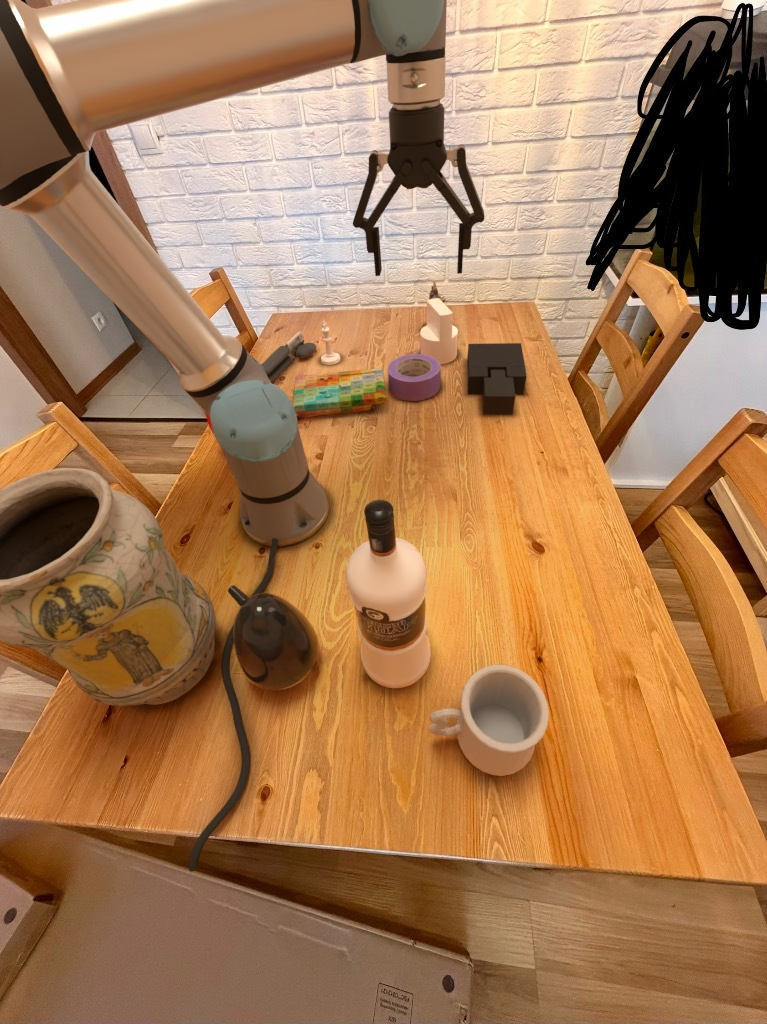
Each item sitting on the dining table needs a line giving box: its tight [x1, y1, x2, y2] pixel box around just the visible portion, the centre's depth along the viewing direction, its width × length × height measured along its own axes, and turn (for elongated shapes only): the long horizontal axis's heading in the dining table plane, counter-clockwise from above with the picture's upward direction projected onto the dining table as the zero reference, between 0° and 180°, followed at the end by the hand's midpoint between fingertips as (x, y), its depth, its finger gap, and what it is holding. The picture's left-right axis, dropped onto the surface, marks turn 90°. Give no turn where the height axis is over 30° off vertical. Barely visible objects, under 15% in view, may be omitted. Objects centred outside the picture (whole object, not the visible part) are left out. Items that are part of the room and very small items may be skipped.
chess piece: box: [320, 320, 341, 366], centre depth 112 cm, size 5×5×10 cm
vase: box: [0, 467, 216, 707], centre depth 53 cm, size 18×18×30 cm
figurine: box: [425, 280, 446, 326], centre depth 118 cm, size 6×6×12 cm
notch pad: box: [466, 342, 528, 395], centre depth 104 cm, size 14×12×4 cm
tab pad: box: [481, 370, 516, 416], centre depth 98 cm, size 10×6×4 cm, turn 174°
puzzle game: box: [292, 367, 388, 418], centre depth 102 cm, size 12×5×20 cm
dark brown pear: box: [227, 585, 320, 691], centre depth 57 cm, size 10×10×15 cm
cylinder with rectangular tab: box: [419, 298, 459, 365], centre depth 109 cm, size 9×9×12 cm
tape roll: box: [387, 353, 441, 402], centre depth 104 cm, size 12×12×5 cm
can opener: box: [260, 330, 317, 384], centre depth 114 cm, size 19×6×5 cm, turn 153°
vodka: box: [345, 498, 431, 689], centre depth 51 cm, size 9×9×30 cm
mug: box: [428, 664, 550, 777], centre depth 51 cm, size 12×9×10 cm
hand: (418, 271), depth 77 cm, fingers open, 13 cm apart
